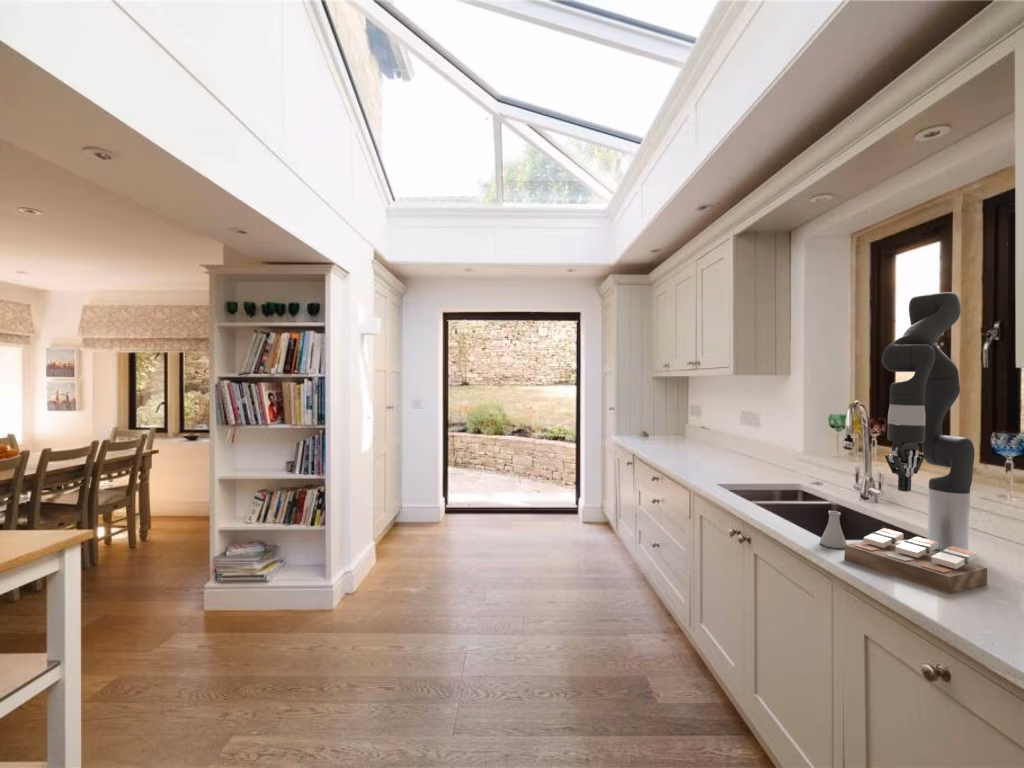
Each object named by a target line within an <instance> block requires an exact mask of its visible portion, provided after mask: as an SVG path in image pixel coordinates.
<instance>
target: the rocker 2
mask: <svg viewBox="0 0 1024 768" xmlns="http://www.w3.org/2000/svg"><path fill="white" fill-rule="evenodd" d="M895 548H896V552H899V553H902V554H906V555H909V556H913V557H916V558H919V557H921V556H923V555H925V554H929V553H930V552H932V551H934V550H937V549H936V548H938V542H935V541H932V540H928V539H927V538H923V537H920V536H914V537H912V538H910V539H908V540H904V541H903V542H902V543H899V545H897V546H895Z"/></svg>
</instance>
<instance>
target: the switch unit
mask: <svg viewBox="0 0 1024 768" xmlns="http://www.w3.org/2000/svg"><path fill="white" fill-rule="evenodd" d="M846 544H847V545H845V549H844V560H845V561H848V562H851V563H853V564H854V563H855V564H857V565H860V566H862V567H866V568H869V569H871V570H875V571H879V572H881V573H884V574H888V575H891V576H894V577H896V578H898V579H902V580H905V581H908V582H912V583H915V584H916V585H917V584H918V585H921V586H922V587H926V588H930V589H932V590H934V591H938V592H941V593H944V594H947V595H953V594H956V593H959V592H960V593H961V592H964V591H966V590H971V589H975V588H979V587H982V586H986V585H987V584H988V567H985V566H982V565H980V564H974V563H972V562H971V563H970V562H969V563H968V564H967V565H966V564H965V565H963V566H961V567H959V568H957V569H954V568H950V567H947V566H944V565H940V564H937V563H933V562H932V561H931V556H933V555H935V554H936V553H935V552H932V551H930V553H929V554H925V555H923V556H921V557H919V558H916V557H913V556H909V555H906V554H902V553H899V552H896V548H895V546H897V545H899V544H900V543H898V542H895V544H891V545H889V546H887V547H884V548H882V547H878V546H875V545H872V544H868V543H865V542H864V541H859V542H854V543H846Z"/></svg>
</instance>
